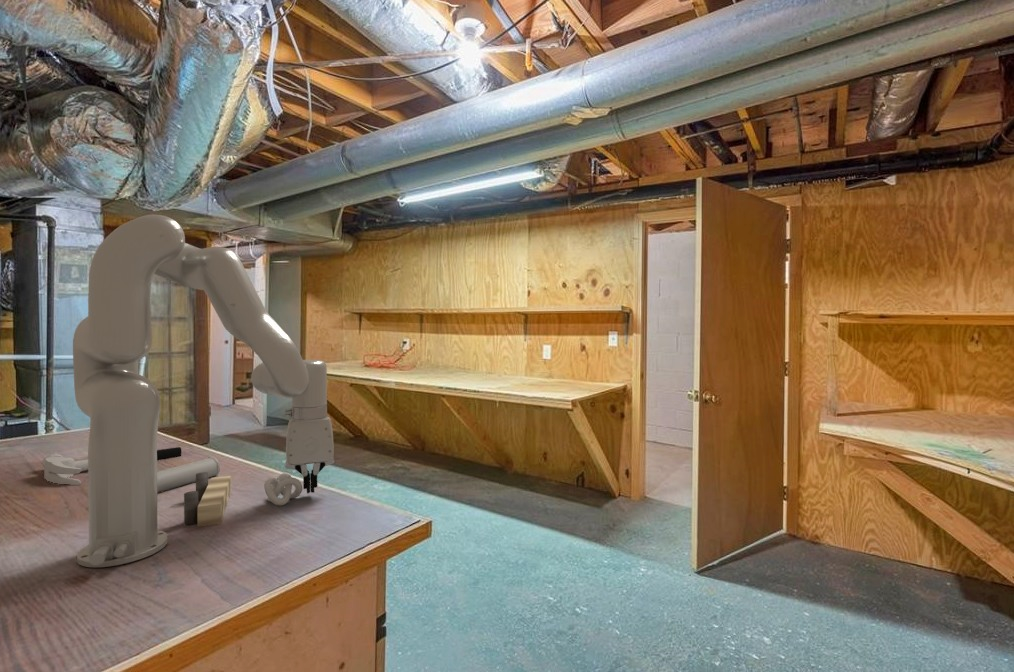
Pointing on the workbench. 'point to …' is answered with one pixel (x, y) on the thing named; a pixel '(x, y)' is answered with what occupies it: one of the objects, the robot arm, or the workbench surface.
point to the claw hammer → (83, 466)
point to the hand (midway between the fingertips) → (310, 490)
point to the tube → (186, 473)
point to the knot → (282, 488)
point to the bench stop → (207, 500)
